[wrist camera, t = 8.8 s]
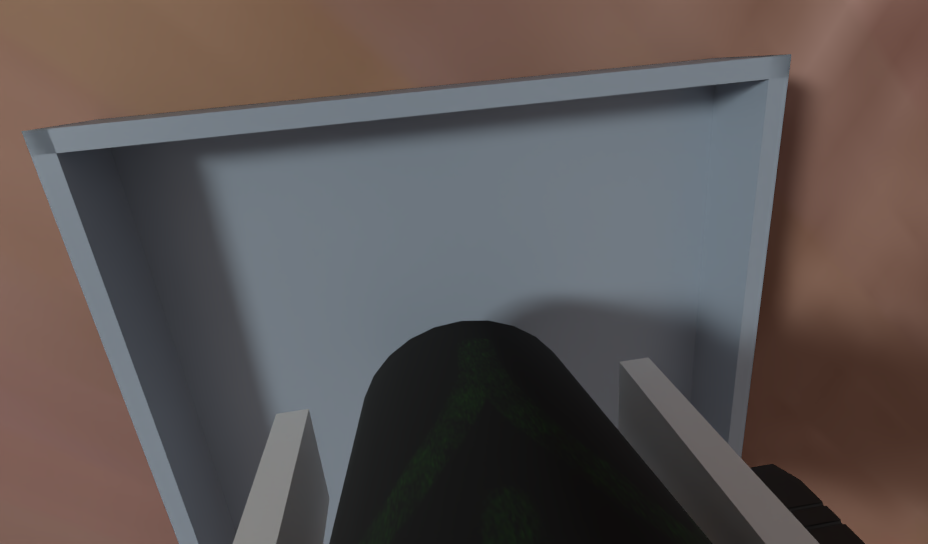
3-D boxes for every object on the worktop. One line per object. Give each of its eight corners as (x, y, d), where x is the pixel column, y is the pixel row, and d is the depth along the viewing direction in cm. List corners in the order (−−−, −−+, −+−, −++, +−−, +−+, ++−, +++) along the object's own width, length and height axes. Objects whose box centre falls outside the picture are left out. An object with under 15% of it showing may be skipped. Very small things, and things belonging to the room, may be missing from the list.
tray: (96, 119, 14) (21, 131, 11) (717, 58, 15) (791, 54, 12) (268, 642, 21) (250, 730, 18) (678, 564, 22) (719, 634, 20)
